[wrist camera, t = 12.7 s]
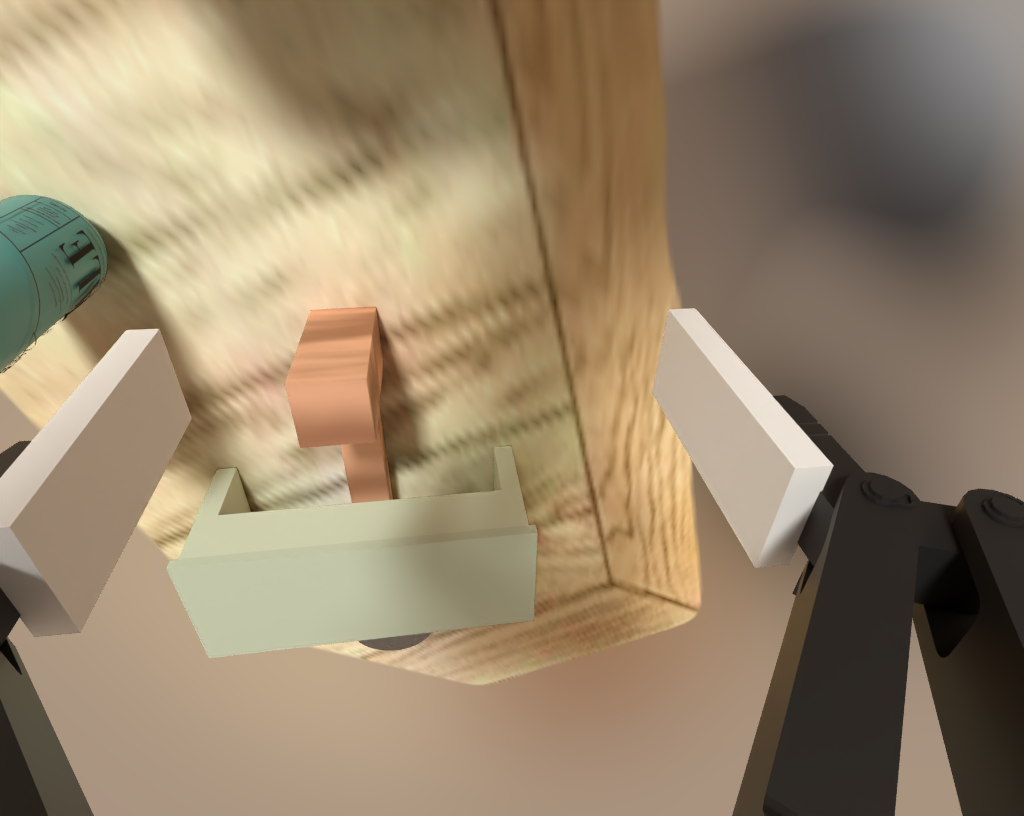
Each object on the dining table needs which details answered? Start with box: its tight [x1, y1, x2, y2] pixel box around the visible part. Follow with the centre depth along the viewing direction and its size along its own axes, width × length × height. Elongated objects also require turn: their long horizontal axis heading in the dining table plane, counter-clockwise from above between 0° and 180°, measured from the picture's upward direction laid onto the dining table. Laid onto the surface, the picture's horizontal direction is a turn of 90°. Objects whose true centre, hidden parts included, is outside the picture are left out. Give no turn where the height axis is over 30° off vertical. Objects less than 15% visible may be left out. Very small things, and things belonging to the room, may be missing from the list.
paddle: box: [285, 307, 393, 503], centre depth 44 cm, size 22×4×10 cm, turn 0°
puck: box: [359, 632, 431, 650], centre depth 58 cm, size 8×8×3 cm
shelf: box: [167, 446, 538, 658], centre depth 47 cm, size 10×25×10 cm, turn 90°
